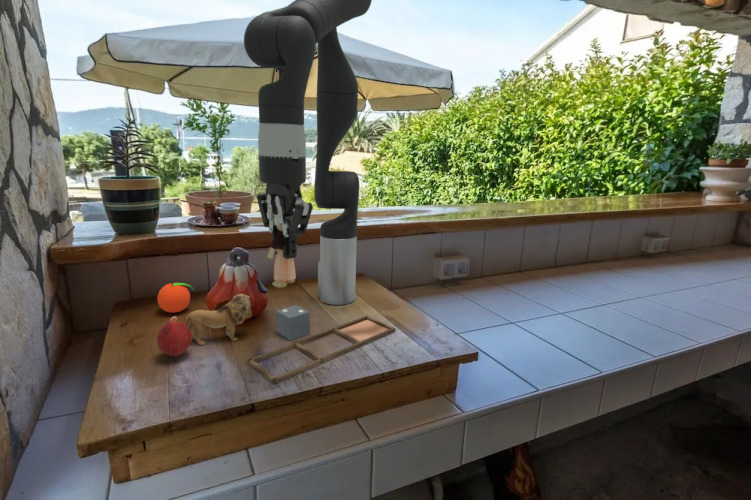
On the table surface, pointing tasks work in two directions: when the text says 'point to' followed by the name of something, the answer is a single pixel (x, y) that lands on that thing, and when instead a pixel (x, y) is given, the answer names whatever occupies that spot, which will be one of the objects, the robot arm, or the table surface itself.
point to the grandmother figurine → (281, 258)
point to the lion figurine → (220, 317)
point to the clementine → (174, 297)
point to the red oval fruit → (174, 337)
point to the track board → (353, 331)
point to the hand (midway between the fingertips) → (284, 255)
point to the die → (293, 322)
